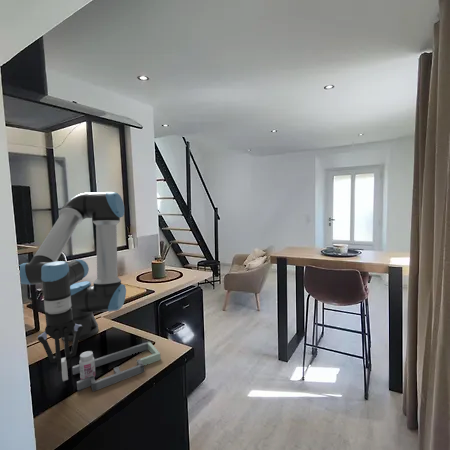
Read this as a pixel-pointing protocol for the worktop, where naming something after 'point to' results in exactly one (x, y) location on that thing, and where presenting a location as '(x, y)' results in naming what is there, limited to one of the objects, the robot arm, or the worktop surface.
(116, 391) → the worktop surface
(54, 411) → the worktop surface
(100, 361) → the channel
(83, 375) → the pill bottle
